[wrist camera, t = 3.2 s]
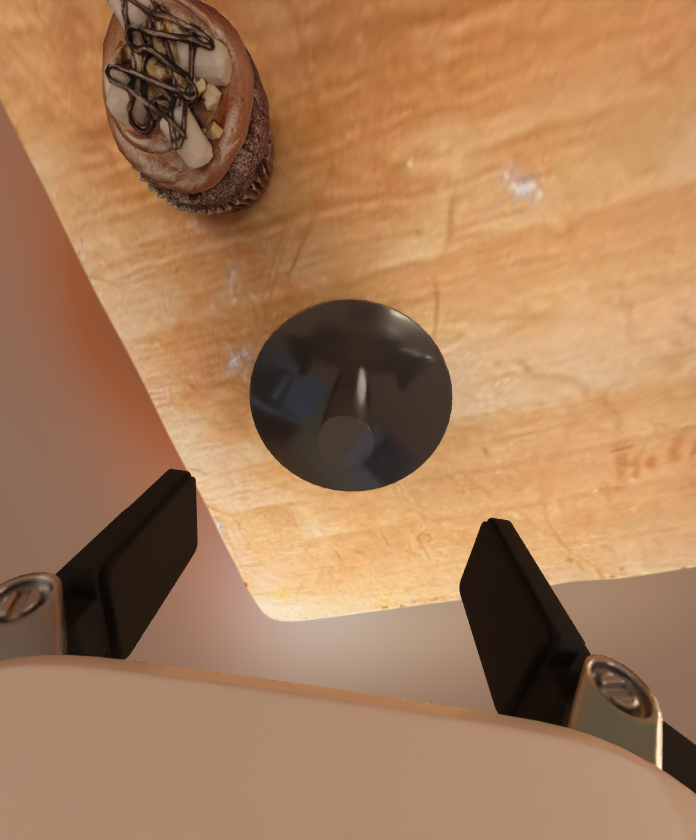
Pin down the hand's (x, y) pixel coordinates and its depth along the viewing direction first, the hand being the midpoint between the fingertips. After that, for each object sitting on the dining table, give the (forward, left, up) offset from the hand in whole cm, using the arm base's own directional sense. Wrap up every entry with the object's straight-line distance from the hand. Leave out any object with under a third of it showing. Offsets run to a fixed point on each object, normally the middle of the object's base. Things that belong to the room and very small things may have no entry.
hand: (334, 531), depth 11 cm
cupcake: (-17, +8, -21) cm, 29 cm away
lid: (0, 0, -12) cm, 12 cm away
